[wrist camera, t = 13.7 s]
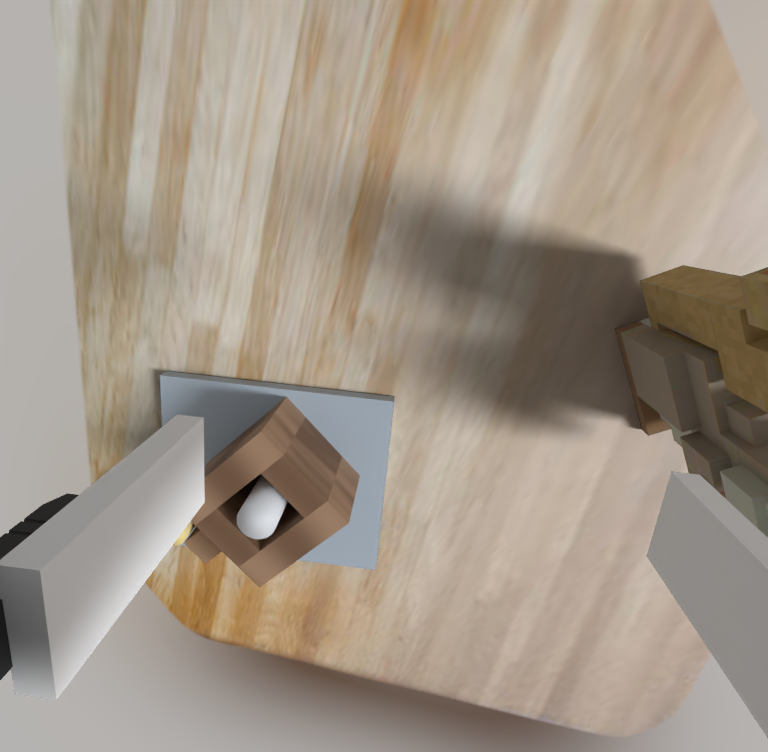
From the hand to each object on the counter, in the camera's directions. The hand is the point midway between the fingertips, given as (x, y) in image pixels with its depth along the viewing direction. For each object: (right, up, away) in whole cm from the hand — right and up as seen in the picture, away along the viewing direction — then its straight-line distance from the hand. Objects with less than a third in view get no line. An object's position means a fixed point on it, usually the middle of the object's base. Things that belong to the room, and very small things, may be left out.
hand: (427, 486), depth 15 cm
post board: (-11, -5, +30) cm, 33 cm away
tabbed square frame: (-11, -6, +29) cm, 32 cm away
